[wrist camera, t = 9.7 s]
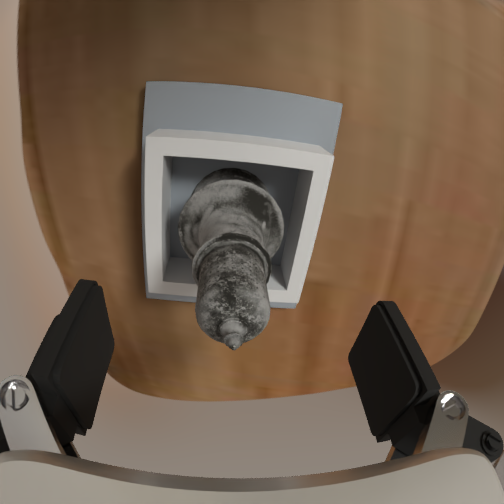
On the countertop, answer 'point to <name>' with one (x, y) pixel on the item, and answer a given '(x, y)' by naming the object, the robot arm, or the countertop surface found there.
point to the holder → (233, 156)
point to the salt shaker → (231, 252)
